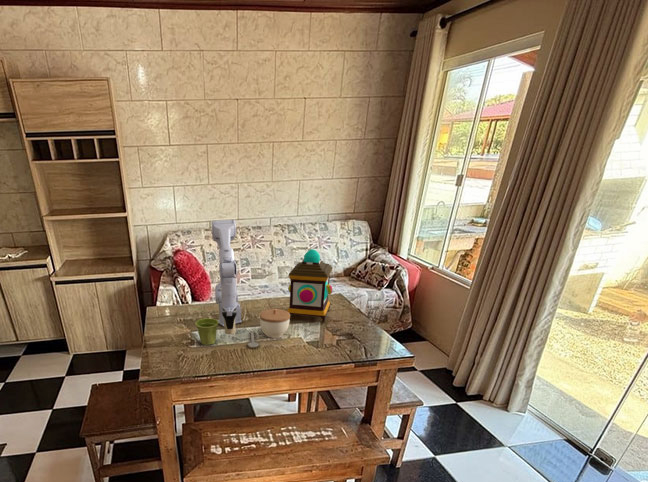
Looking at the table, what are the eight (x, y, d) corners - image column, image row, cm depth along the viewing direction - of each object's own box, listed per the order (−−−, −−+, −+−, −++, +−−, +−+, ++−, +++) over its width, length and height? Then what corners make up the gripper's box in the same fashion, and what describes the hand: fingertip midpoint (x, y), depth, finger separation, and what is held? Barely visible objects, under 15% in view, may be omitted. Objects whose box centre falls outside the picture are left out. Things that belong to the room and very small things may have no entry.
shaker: (232, 329, 168) (231, 308, 163) (237, 333, 164) (237, 311, 160) (222, 331, 166) (221, 310, 162) (228, 335, 162) (227, 314, 158)
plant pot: (222, 338, 170) (221, 319, 165) (214, 348, 162) (213, 328, 158) (202, 336, 173) (200, 317, 168) (193, 345, 165) (191, 325, 161)
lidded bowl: (293, 330, 174) (294, 306, 169) (284, 342, 164) (284, 316, 159) (265, 327, 179) (265, 303, 174) (255, 338, 169) (254, 313, 164)
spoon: (247, 333, 174) (247, 331, 173) (257, 332, 174) (257, 331, 173) (247, 348, 161) (247, 346, 160) (259, 348, 160) (259, 346, 160)
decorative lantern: (291, 305, 201) (294, 243, 186) (332, 309, 195) (338, 245, 180) (282, 320, 185) (284, 253, 170) (326, 324, 179) (333, 255, 164)
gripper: (239, 299, 151) (240, 333, 157) (238, 287, 163) (239, 319, 170) (220, 300, 151) (222, 333, 157) (221, 288, 164) (222, 320, 170)
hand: (230, 326), depth 164 cm, fingers closed on shaker, 4 cm apart
